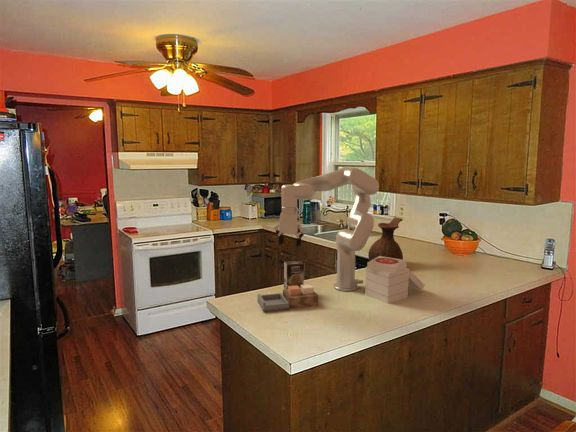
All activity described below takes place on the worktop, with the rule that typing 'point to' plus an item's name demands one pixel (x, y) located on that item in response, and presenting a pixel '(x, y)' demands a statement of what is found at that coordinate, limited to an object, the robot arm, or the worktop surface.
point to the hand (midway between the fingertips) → (289, 244)
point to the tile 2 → (307, 289)
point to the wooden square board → (301, 299)
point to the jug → (387, 242)
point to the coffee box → (293, 273)
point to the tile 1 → (294, 290)
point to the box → (272, 302)
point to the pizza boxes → (389, 279)
